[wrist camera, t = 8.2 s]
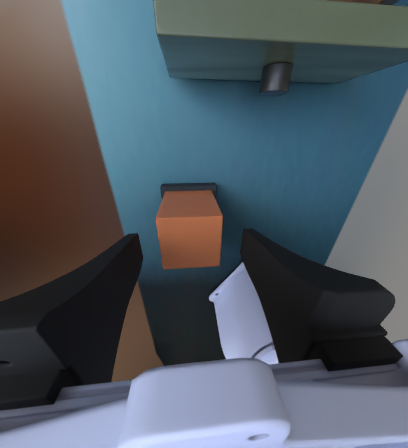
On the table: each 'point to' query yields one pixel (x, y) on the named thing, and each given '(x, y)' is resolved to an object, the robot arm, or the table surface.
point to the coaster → (189, 187)
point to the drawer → (280, 39)
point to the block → (189, 229)
